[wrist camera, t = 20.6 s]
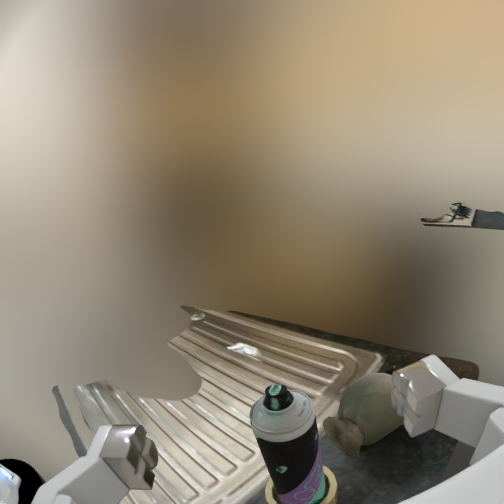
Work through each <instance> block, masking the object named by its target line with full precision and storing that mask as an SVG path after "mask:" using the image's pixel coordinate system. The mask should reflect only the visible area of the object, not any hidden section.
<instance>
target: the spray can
mask: <svg viewBox="0 0 504 504" xmlns="http://www.w3.org/2000/svg"><path fill="white" fill-rule="evenodd" d="M265 393H266V395H264V396H262V397H261V398H259V399H258V400H257V401H256V402H255V403H254V404H253V406H252V408H251V410H250V420H251V426H252V429H253V432H254V434H255V437H256V440H257V442H258V445H259V448H260V450H261V453H262V456H263V458H264V461H265V463H266V466H267V468H268V471H269V474H270V476H271V479H272V481H273V484H274V486H275V488H276V491H277V493H278V496H279V498H280V501H281V503H282V504H320V503H321V502H322V501H323V500H324V499H325V497H326V486H325V479H324V471H323V464H322V457H321V450H320V443H319V436H318V429H317V423H316V416H315V410H314V407H313V405H312V402H311V400H310V398H309V397H308V396H307V395H306V394H304V393H302V392H300V391H297V390H289V389H287V388H286V386H285V385H272V386H269V387H267V388H266V390H265Z"/></svg>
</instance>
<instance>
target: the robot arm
mask: <svg viewBox="0 0 504 504" xmlns="http://www.w3.org/2000/svg"><path fill="white" fill-rule="evenodd" d="M392 382H393V384H394V385H395V386H394V387H393V389H392V390H391V401H392V406H393V408H394V410H395V412H396V414H397V416H399V417H402V418H404V423H403V425H404V427H405V428H406V430H407V431H408V433H409V435H410V436H411V438H413V437H415V436H417V435H420V434H422V433H424V432H426V431H429V430H431V429H433V428H434V429H435V430H437V431H440V432H442V433H444V434H446V435H448V436H450V437H452V438H455V439H457V440H459V441H461V442H464V443H466V444H468V445H470V446H473V447H475V448H476V449H475V451H474V454H473V456H472V458H471V460H470V463H469V464H470V465H471V466H470V467H468V468H467V469H465V470H463V471H462V472H460V473H458V474H456V475H455V476H453V477H451V478H449V479H448V480H446V481H444V482H442V483H440V484H438V485H436V486H434V487H432V488H430V489H428V490H426V491H424V492H422V493H420V494H418V495H416V496H414V497H411V498H409V499H407V500H405V501H402V502H400V503H398V504H504V387H501V386H496V385H492V384H487V383H483V382H478V381H474V380H470V379H466V378H463V379H461V380H460V379H459V378H458V377H457V376H456V375H455V374H454V373H453V372H452V371H451V370H450V369H449V368H448V367H447V366H446V365H445V364H444V363H443V362H442V361H441V360H440V359H439V358H438V357H437V356H436V355H430V356H428V357H426V358H424V359H422V360H420V361H417V362H415V363H412V364H410V365H408V366H405V367H403V368H400V369H398V370H395V371H393V373H392ZM146 433H147V432H146V430H145V429H144V427H143V426H142V425H101V426H100V427H99V428H98V430H97V433H96V435H95V437H94V439H93V441H92V444H91V446H90V448H89V450H88V453H87V455H86V457H81V458H80V459H78V460H77V461H76V462H74V463H73V464H71V465H70V466H69V467H67V468H66V469H65V470H63V471H62V472H61V473H59V474H58V475H56V476H55V477H53V478H52V479H51V480H49V481H48V482H46V483H45V484H44V485H42V486H41V487H39V489H38V491H37V493H36V495H35V497H34V500H33V502H32V504H118V503H119V502H120V501H121V500H122V499H123V498H124V497H125V496H126V494H127V493H128V492H129V491H130V490H129V489H137V490H152V486H153V482H154V477H155V474H154V473H153V471H152V470H153V469H154V468H155V467H156V466H157V463H158V451H157V448H156V446H155V444H154V442H153V441H152V440H150V439H149V438H147V437H146ZM21 481H22V480H21V478H20V477H19V476H18V475H16V474H14V473H13V472H11V471H10V470H8V469H7V468H5V467H4V466H3V465H1V464H0V504H19V488H20V485H21Z"/></svg>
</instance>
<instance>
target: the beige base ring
mask: <svg viewBox="0 0 504 504" xmlns="http://www.w3.org/2000/svg"><path fill="white" fill-rule="evenodd" d="M323 471H324V479H325V486H326V497H325V499H324V500H323V501H322V502H321V503H320V504H337V496H338V489H337V482H336V479H335V475H334V474H333V473H332V472H331V471H330V470H329V469H328V468H327V467H325V466H323ZM265 495H266V501H267V503H268V504H282V503H281V501H280V498H279V496H278V493H277V491H276V488H275V486H274V484H273V481H272V479H271V478H270V479H269V481H268V483H267V486H266V488H265Z"/></svg>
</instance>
